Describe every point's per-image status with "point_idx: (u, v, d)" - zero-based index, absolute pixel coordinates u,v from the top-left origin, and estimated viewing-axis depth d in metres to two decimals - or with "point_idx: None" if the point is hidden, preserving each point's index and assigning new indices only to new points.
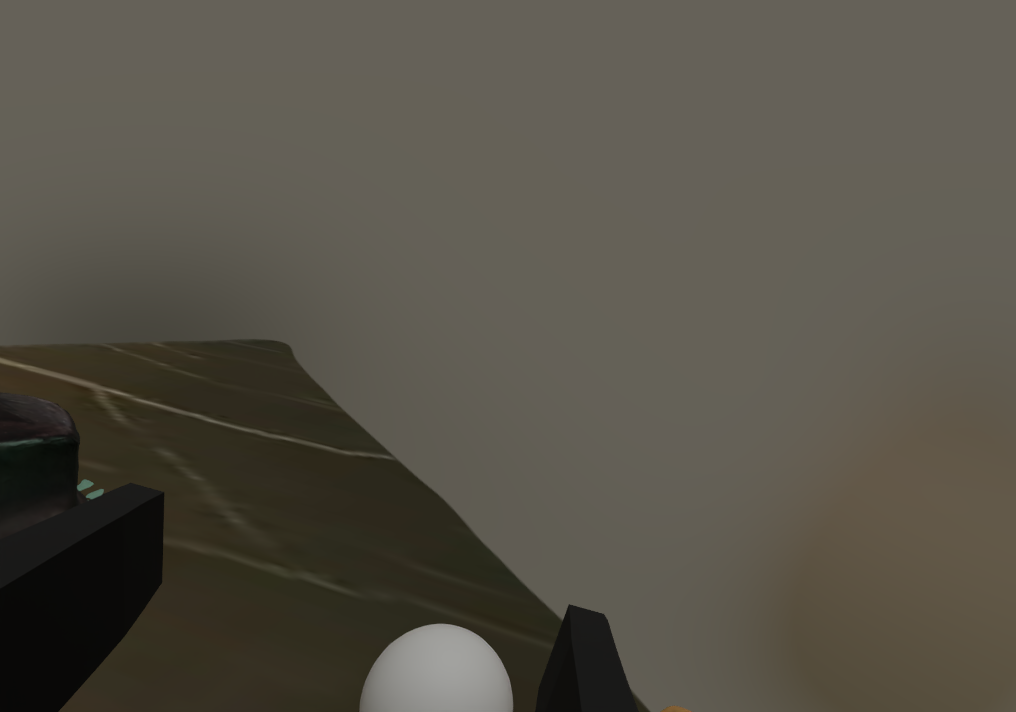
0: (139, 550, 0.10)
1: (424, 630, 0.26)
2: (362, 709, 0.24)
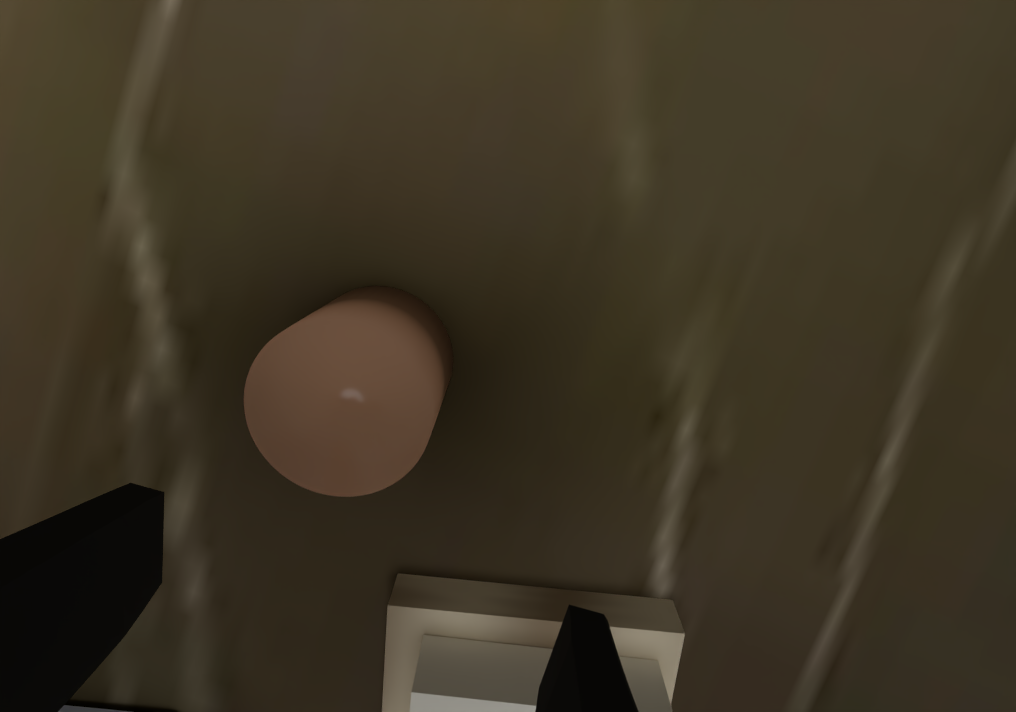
0: (139, 550, 0.10)
1: None
2: None
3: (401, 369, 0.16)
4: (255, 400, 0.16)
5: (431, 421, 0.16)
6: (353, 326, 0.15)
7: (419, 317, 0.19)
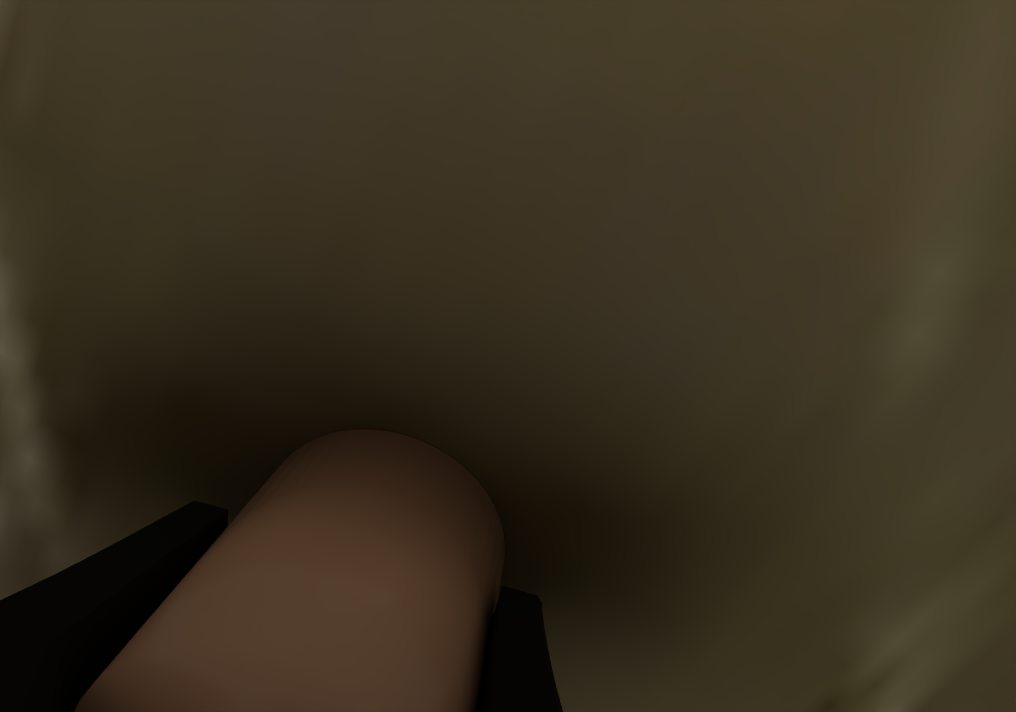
0: None
1: None
2: None
3: None
4: None
5: None
6: (299, 680, 0.07)
7: (455, 543, 0.10)
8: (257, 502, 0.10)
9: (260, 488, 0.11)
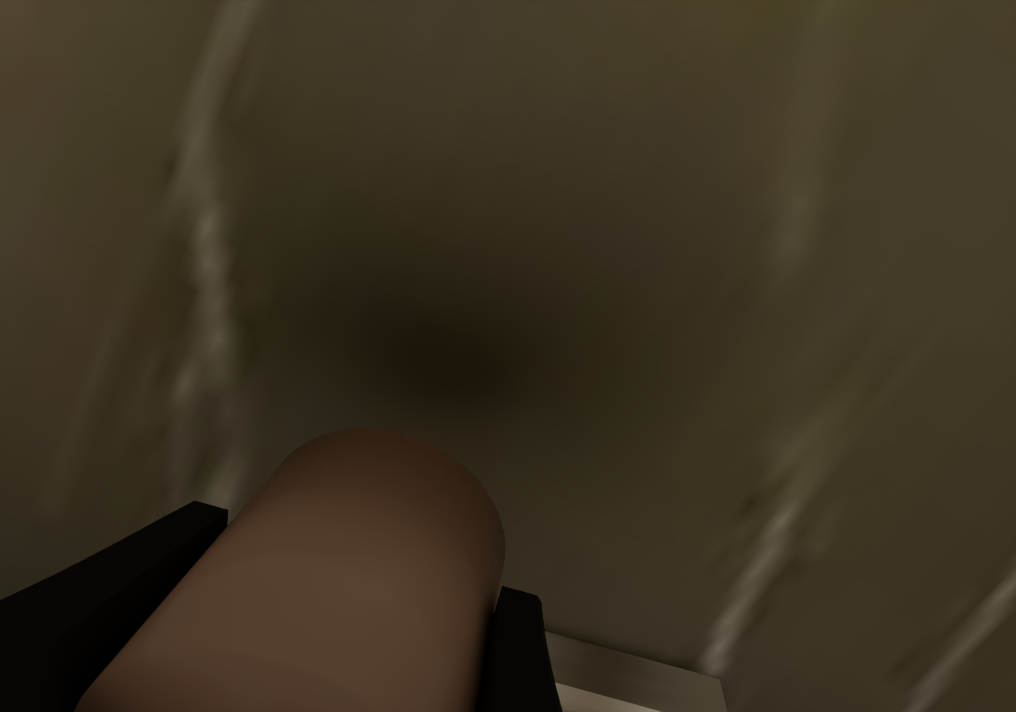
0: None
1: None
2: None
3: None
4: None
5: None
6: (300, 678, 0.07)
7: (455, 542, 0.10)
8: (257, 501, 0.10)
9: None
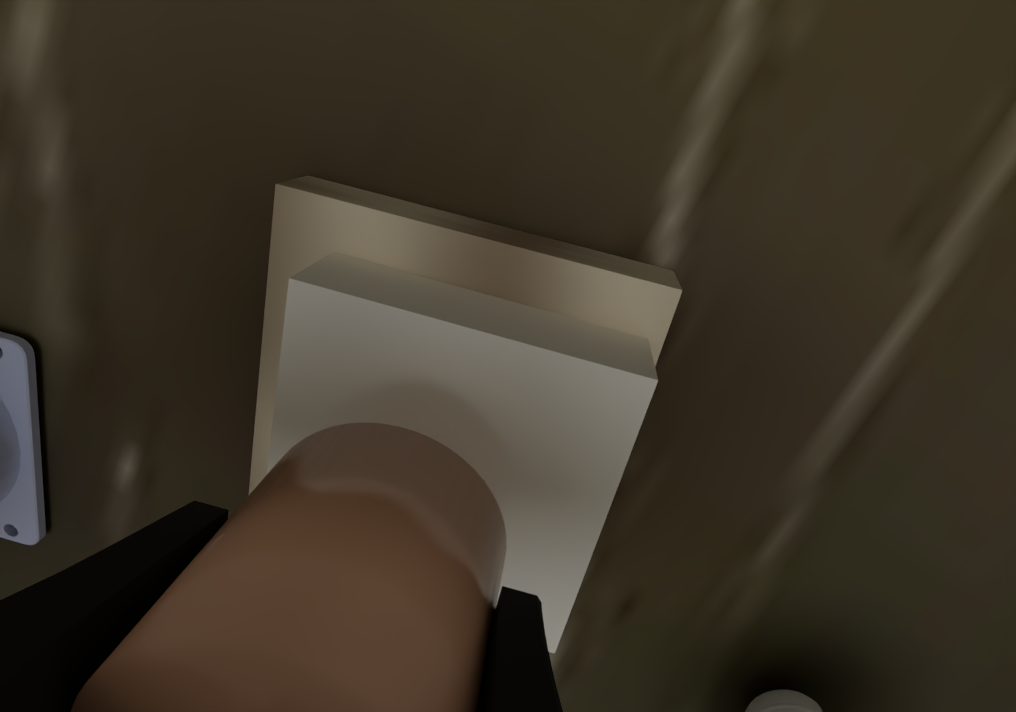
0: None
1: None
2: None
3: None
4: None
5: None
6: (292, 668, 0.07)
7: (452, 531, 0.10)
8: (253, 498, 0.10)
9: (257, 485, 0.11)
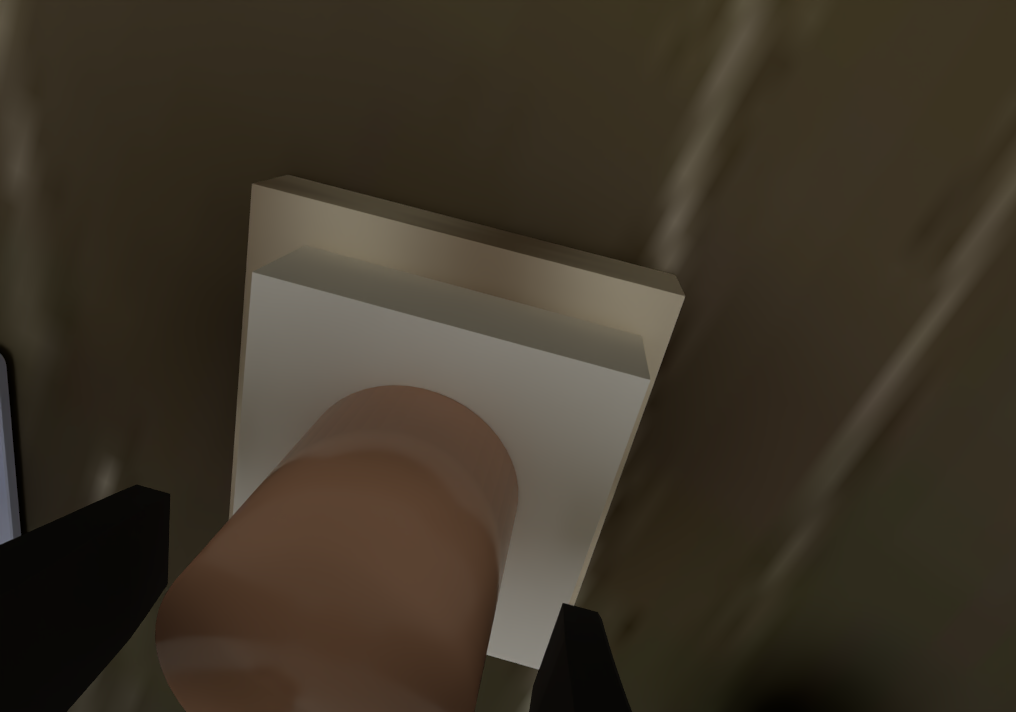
0: (145, 552, 0.10)
1: None
2: None
3: (425, 644, 0.09)
4: (174, 640, 0.09)
5: None
6: (344, 566, 0.08)
7: (471, 475, 0.11)
8: (299, 445, 0.11)
9: (301, 438, 0.12)
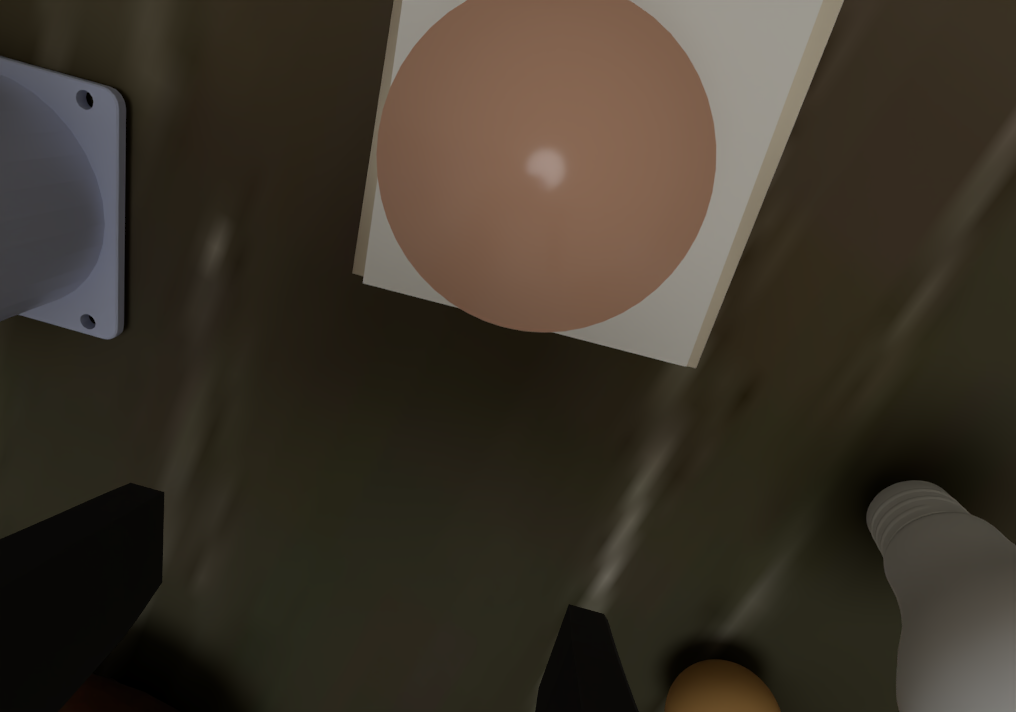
0: (139, 550, 0.10)
1: None
2: None
3: (675, 107, 0.09)
4: (399, 132, 0.09)
5: (702, 217, 0.09)
6: (607, 4, 0.08)
7: None
8: None
9: None
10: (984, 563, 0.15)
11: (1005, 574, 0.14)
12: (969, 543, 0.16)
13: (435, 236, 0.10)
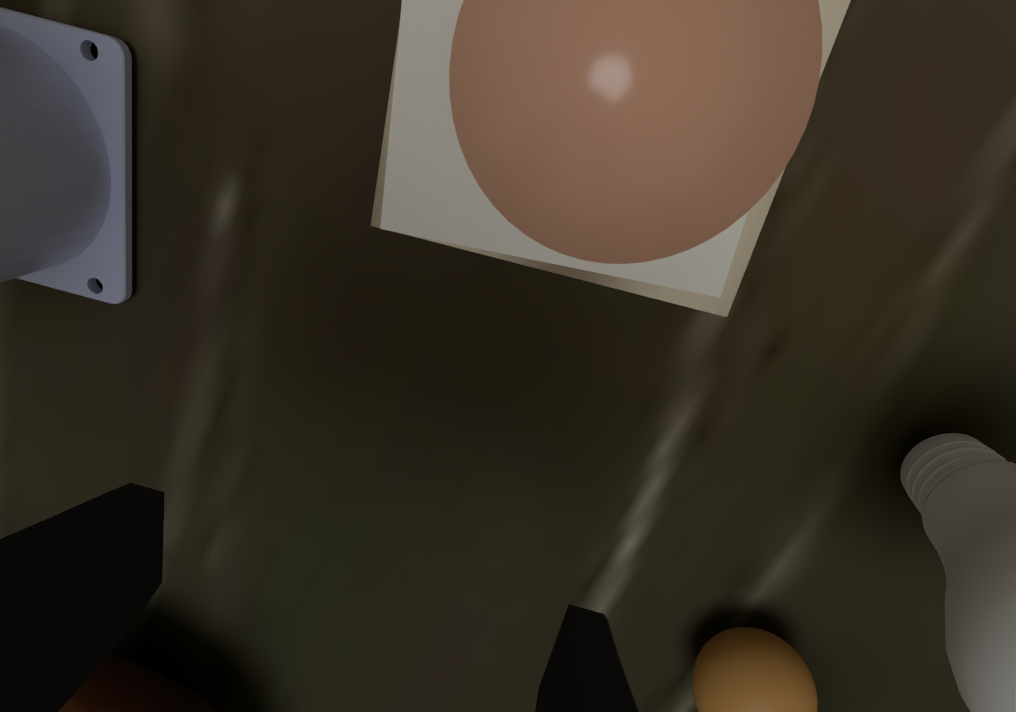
0: (139, 550, 0.10)
1: None
2: None
3: (783, 10, 0.08)
4: (476, 42, 0.08)
5: (801, 133, 0.09)
6: None
7: None
8: None
9: None
10: None
11: None
12: None
13: (513, 162, 0.09)
